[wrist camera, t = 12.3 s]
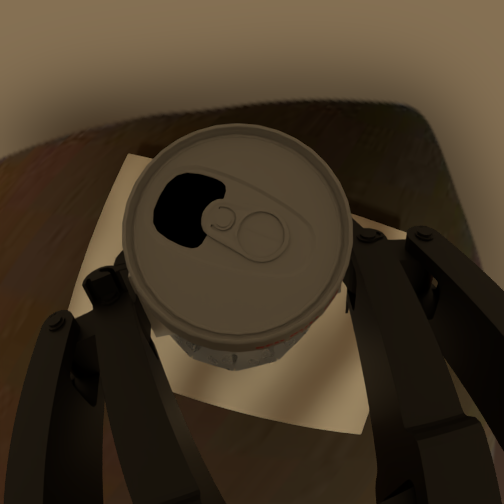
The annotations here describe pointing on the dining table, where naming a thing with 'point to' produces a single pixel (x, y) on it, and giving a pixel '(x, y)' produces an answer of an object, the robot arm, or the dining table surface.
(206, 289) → the energy drink
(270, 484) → the dining table surface
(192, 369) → the serving board
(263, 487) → the dining table surface
